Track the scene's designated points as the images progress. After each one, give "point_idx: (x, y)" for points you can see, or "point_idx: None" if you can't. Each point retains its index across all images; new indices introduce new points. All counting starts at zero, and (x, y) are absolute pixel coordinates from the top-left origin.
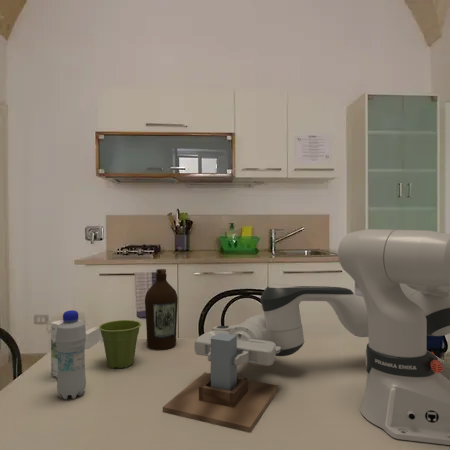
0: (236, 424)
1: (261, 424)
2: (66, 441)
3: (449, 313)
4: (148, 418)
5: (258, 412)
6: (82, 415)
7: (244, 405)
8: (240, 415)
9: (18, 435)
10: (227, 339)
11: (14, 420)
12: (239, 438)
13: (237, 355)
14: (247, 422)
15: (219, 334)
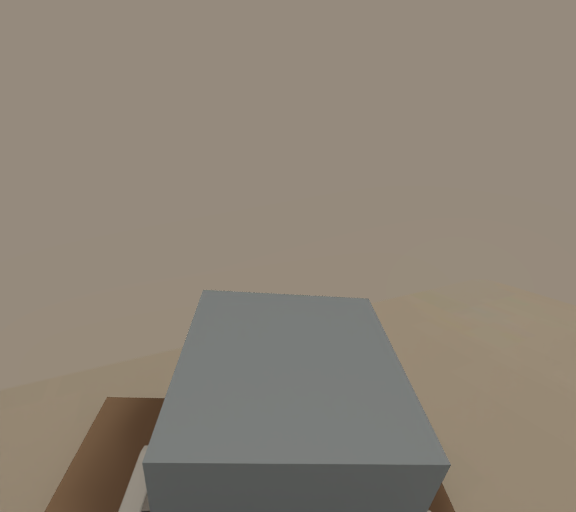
0: (153, 399)
1: (59, 464)
2: (435, 295)
3: None
4: None
5: (57, 502)
6: (516, 344)
7: None
8: (142, 448)
9: (501, 290)
10: (228, 311)
11: (563, 307)
12: (142, 377)
13: (147, 502)
14: (115, 416)
15: (393, 408)
